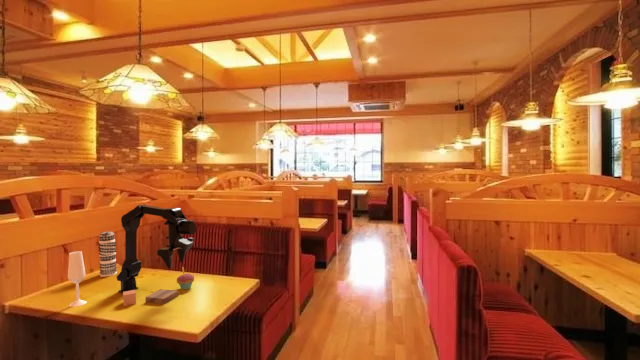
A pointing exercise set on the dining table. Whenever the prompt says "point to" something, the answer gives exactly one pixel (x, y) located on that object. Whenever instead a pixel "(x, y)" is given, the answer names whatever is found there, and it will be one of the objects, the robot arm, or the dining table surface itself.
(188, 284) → the cupcake
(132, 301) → the cube
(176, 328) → the dining table surface
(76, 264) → the champagne flute
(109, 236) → the decorative candle
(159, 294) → the base
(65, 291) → the dining table surface
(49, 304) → the dining table surface
